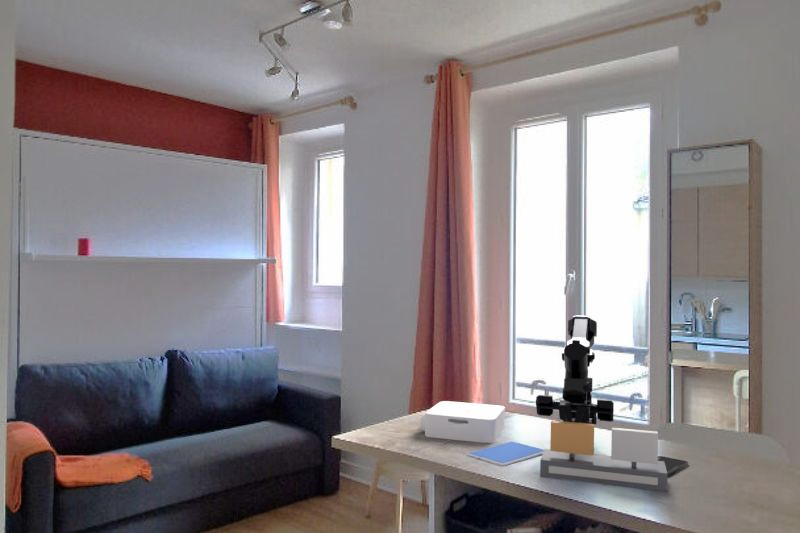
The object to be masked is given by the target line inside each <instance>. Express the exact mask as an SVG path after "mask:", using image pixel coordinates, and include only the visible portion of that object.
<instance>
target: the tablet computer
mask: <svg viewBox="0 0 800 533" xmlns="http://www.w3.org/2000/svg"><path fill="white" fill-rule="evenodd" d="M544 450H545V449H543V448H539V447H535V446H530V445H527V444H524V443H520V442H516V441H508V442H505V443H501V444H498V445H495V446H494V445H493V446H489V447H487V448H483V449H479V450H475V451H472V452H471V451H470V452H468V453H467V454H466V455H467V457H469V458H473V459H476V460H479V461H484V462H487V463H491V464H493V465H496V466H500V467H507V466H509V465H513V464H515V463H518V462H522V461H525V460H528V459H533V458H535V457H539V456H542V455H543V452H544Z"/></svg>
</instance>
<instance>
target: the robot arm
mask: <svg viewBox="0 0 800 533" xmlns="http://www.w3.org/2000/svg"><path fill="white" fill-rule="evenodd" d="M597 324H598V323H597V321H596V320H594V319H592V318H591V316H588V315H573V316H572V318H571V319H569V320H568V321H567V336H570V338H569V339H568V340H567V341H566V343H565V346H564V347H563V349H562V352H561V360H562V362H564V368H565V376H564V379H563V388H562V395H561V396H562V399H560V400H559V401H555V400H553V395H550V394H538V395H537V396H536V399H535V407H536V414H537V415H538V416H544V417H551V416H552V415H554V411H558V414H559V417H558V418H559V420H560V421H564V422H575V423H586V424H594V425H597V420H599V421H600V422H613V421H614V412H615V411H614V409H615V408H614V404H615V403H614V401H612V400H611V399H601V398H597V399H596V404H595V402H592V400H593V399H592V394H591V393H593V377H589V367H590V365H591V364H592V363H593V362H594V360H595V359H596V354H595V352H594V350H593V349H591V348H592V347H593V346H594V344H595V338H596V337H597V336H598V334H597V333H598V325H597Z"/></svg>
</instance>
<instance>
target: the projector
mask: <svg viewBox="0 0 800 533" xmlns="http://www.w3.org/2000/svg"><path fill="white" fill-rule="evenodd" d="M505 418H506V407H505V406H504V405H497V404H486V403H475V402H474V403H473V402H463V401H462V402H461V401H451V400H450V401H449V400H442V401H439V402H437V403H436V404H435V405H433V406H432V407H431V408H429V409H428V410H427V411H426V412H423V413H422V414H421V417H420V429H421V430H422V431H424V436H425V437H428V438H436V439H442V440H443V439H445V440H454V441H466V442H473V443H474V442H475V443H481V444H492V443H495V442H496V441H497V440H498V439H499V437H500V436H501V435H502V433H503V432H504V431H503V430H505V429H504V428H505V426H506V425H505V423H506V422H505V421H506V420H505ZM502 431H503V432H502ZM500 434H501V435H500Z"/></svg>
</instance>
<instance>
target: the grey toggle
mask: <svg viewBox="0 0 800 533" xmlns="http://www.w3.org/2000/svg"><path fill="white" fill-rule="evenodd" d="M658 445H659V433H658V431H656V430H655V431H654V430H645V429H644V430H642V429H632V428H621V427H611V447H610V448H611V454H610V456H611V460H620V461H630V462H632V466H636V462H639V463H649V464H658V456H659V452H658V450H659V447H658Z"/></svg>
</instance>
